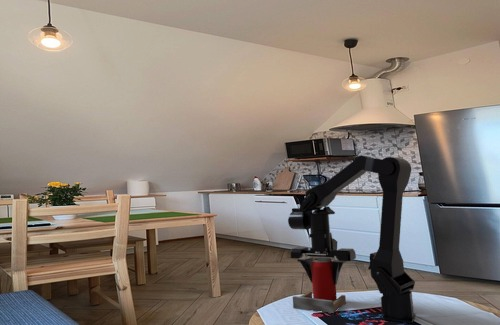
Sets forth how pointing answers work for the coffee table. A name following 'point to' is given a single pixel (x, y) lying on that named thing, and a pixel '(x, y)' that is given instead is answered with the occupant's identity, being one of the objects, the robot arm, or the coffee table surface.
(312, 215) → the robot arm
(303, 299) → the guide channel
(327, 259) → the beverage can
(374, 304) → the coffee table surface
